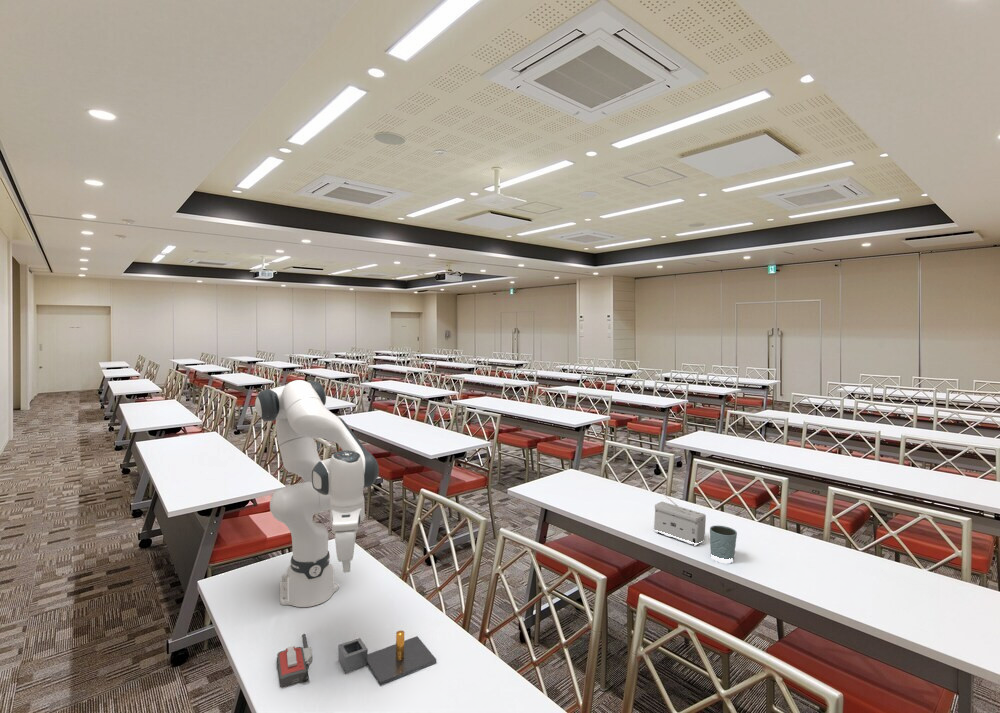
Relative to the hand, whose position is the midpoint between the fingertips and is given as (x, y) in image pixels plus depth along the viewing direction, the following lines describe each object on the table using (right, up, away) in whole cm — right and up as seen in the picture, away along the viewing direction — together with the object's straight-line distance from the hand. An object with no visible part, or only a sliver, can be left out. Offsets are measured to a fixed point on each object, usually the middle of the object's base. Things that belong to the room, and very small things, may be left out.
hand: (348, 562), depth 134 cm
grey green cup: (+131, -27, +68) cm, 150 cm away
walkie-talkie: (-14, -28, 0) cm, 31 cm away
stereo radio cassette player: (+120, -25, +87) cm, 150 cm away
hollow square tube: (+1, -27, 0) cm, 27 cm away
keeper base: (+14, -28, +2) cm, 31 cm away
